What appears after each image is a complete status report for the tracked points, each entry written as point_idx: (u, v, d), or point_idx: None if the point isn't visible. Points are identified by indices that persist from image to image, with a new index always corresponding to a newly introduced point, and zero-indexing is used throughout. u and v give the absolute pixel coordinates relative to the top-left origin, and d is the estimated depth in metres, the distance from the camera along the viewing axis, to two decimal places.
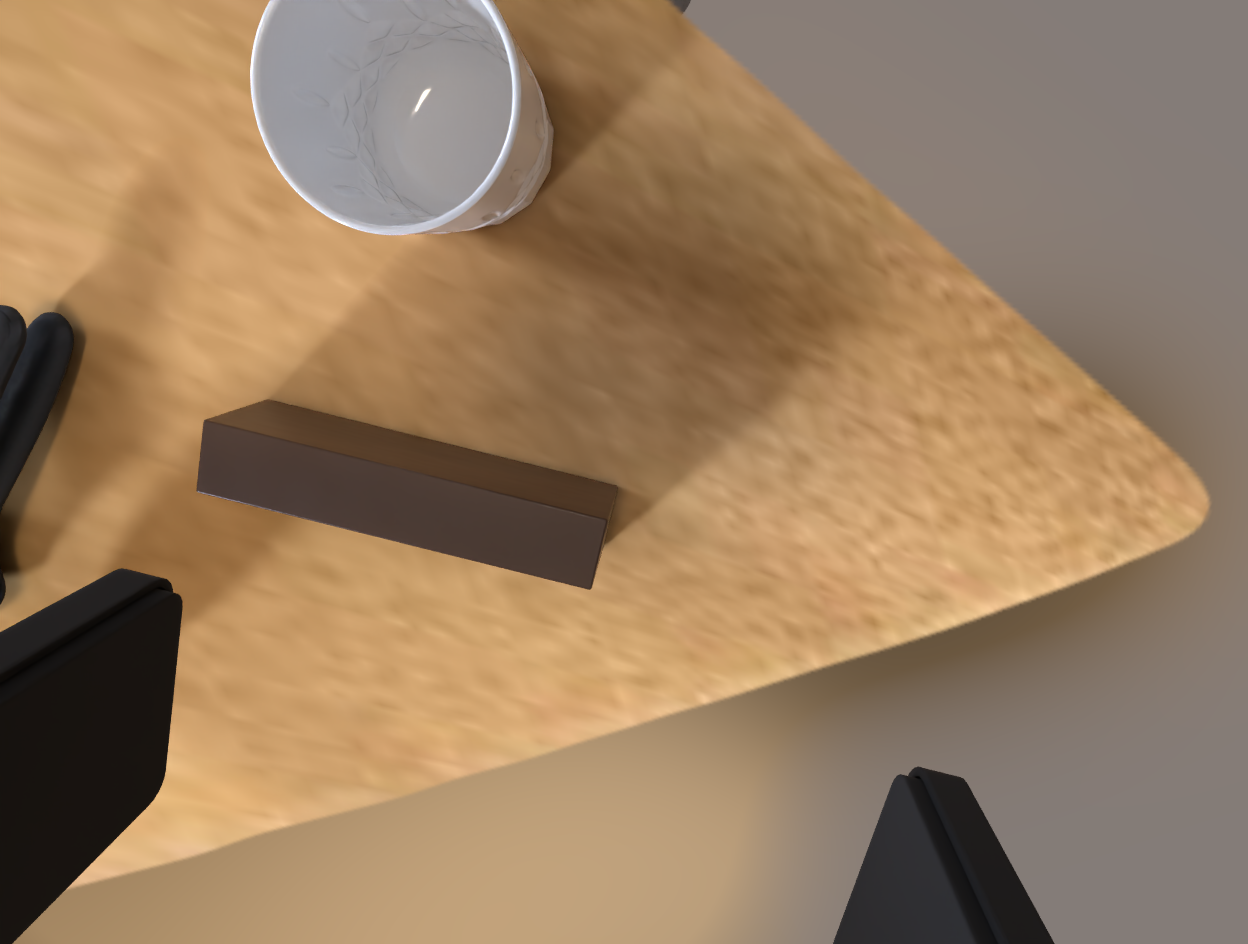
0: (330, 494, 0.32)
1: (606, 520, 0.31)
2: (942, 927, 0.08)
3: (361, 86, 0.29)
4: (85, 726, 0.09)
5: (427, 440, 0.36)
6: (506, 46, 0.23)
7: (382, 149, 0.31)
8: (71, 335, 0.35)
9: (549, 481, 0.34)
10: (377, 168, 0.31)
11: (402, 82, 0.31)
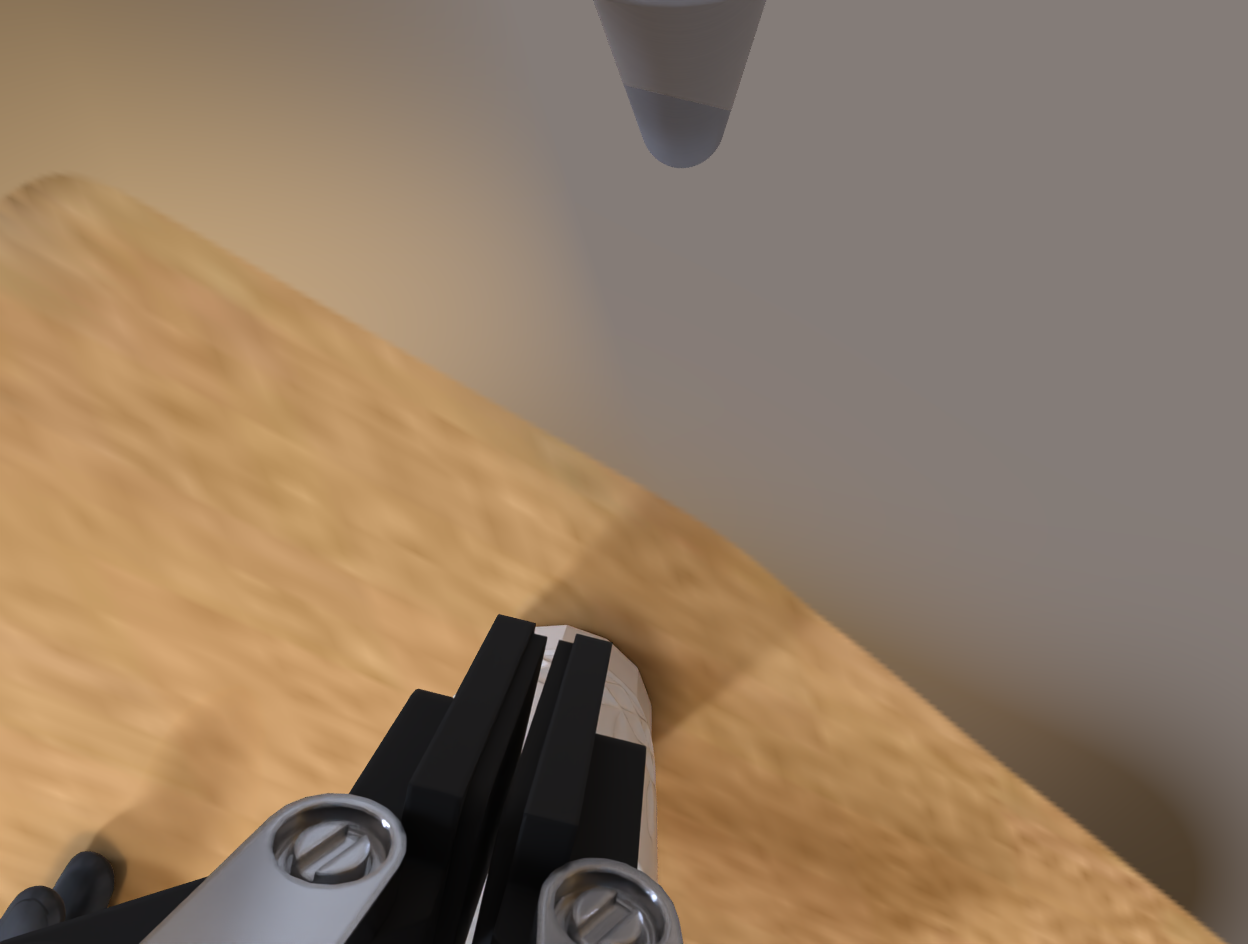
0: None
1: None
2: None
3: None
4: (511, 759, 0.10)
5: None
6: None
7: None
8: (112, 880, 0.32)
9: None
10: None
11: None
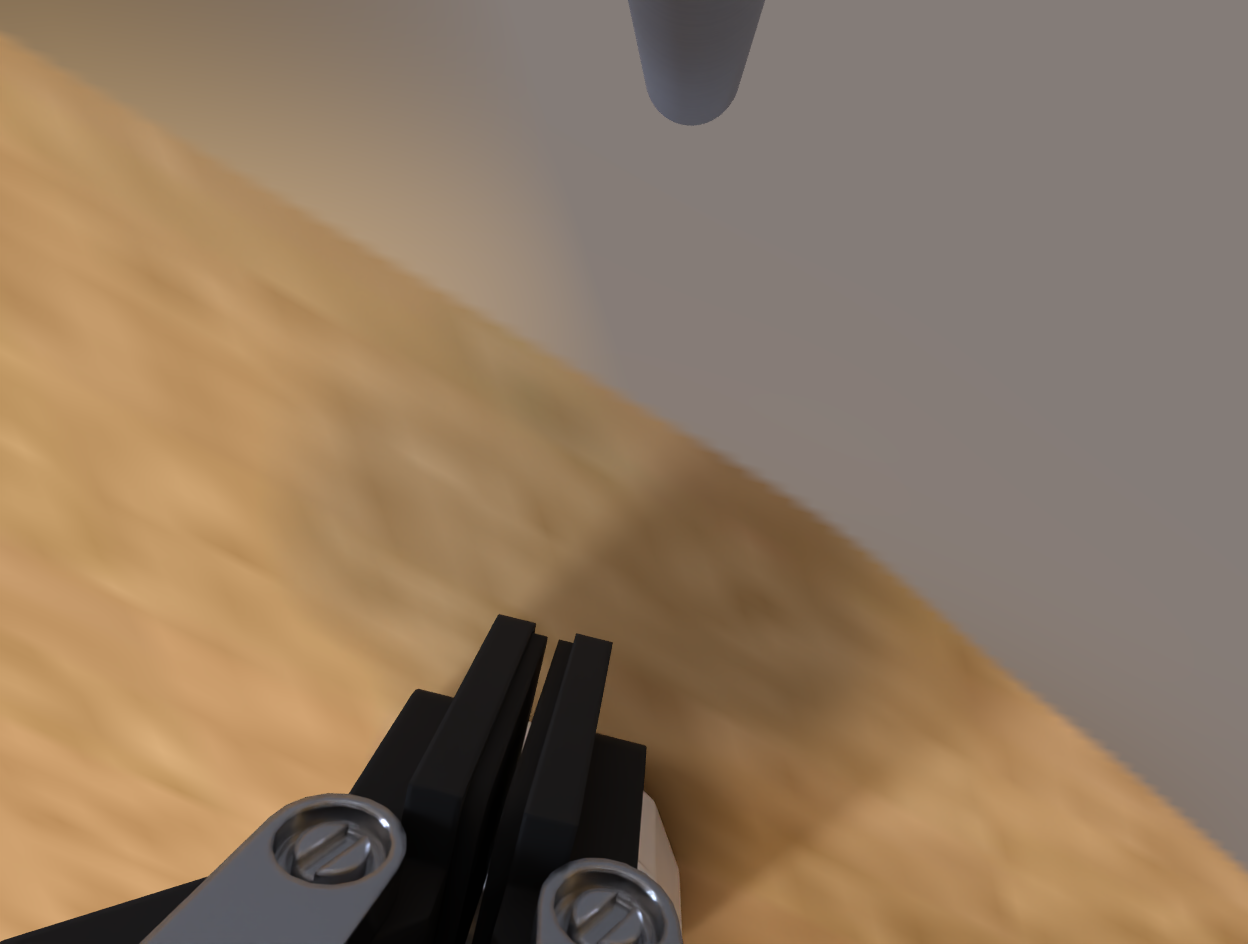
0: None
1: None
2: None
3: None
4: (511, 759, 0.10)
5: None
6: None
7: None
8: None
9: None
10: None
11: None
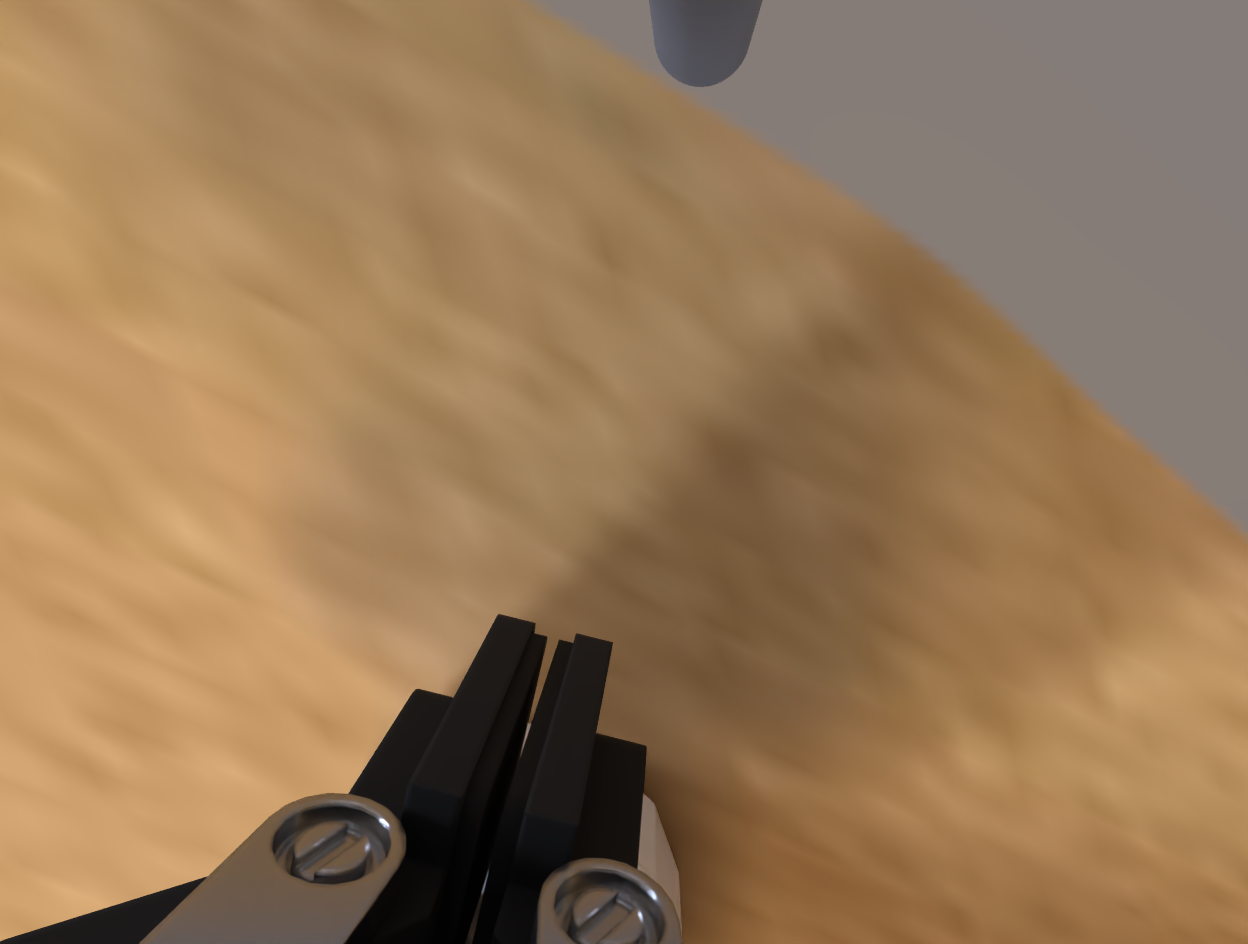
0: None
1: None
2: None
3: None
4: (511, 758, 0.10)
5: None
6: None
7: None
8: None
9: None
10: None
11: None
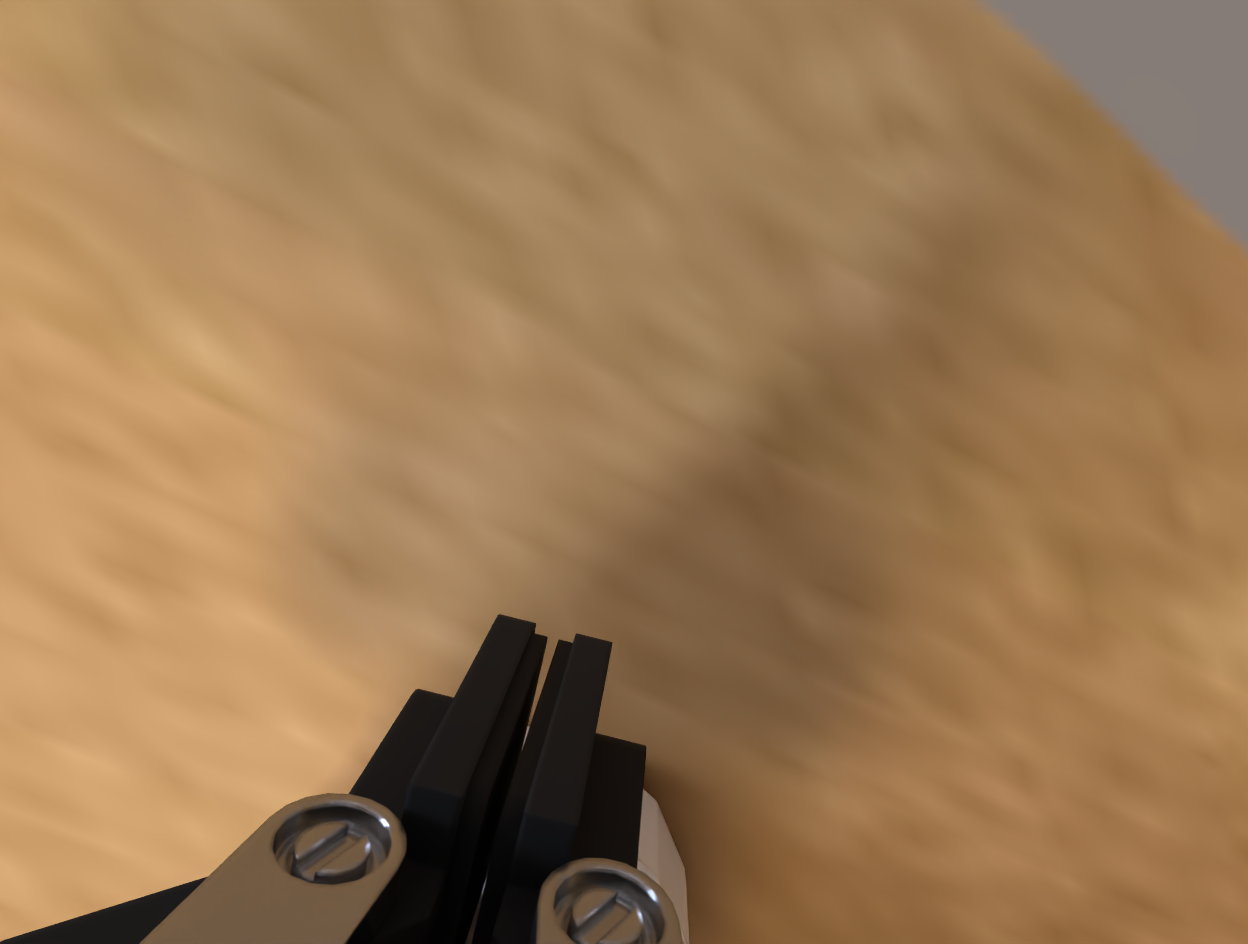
0: None
1: None
2: None
3: None
4: (511, 759, 0.10)
5: None
6: None
7: None
8: None
9: None
10: None
11: None
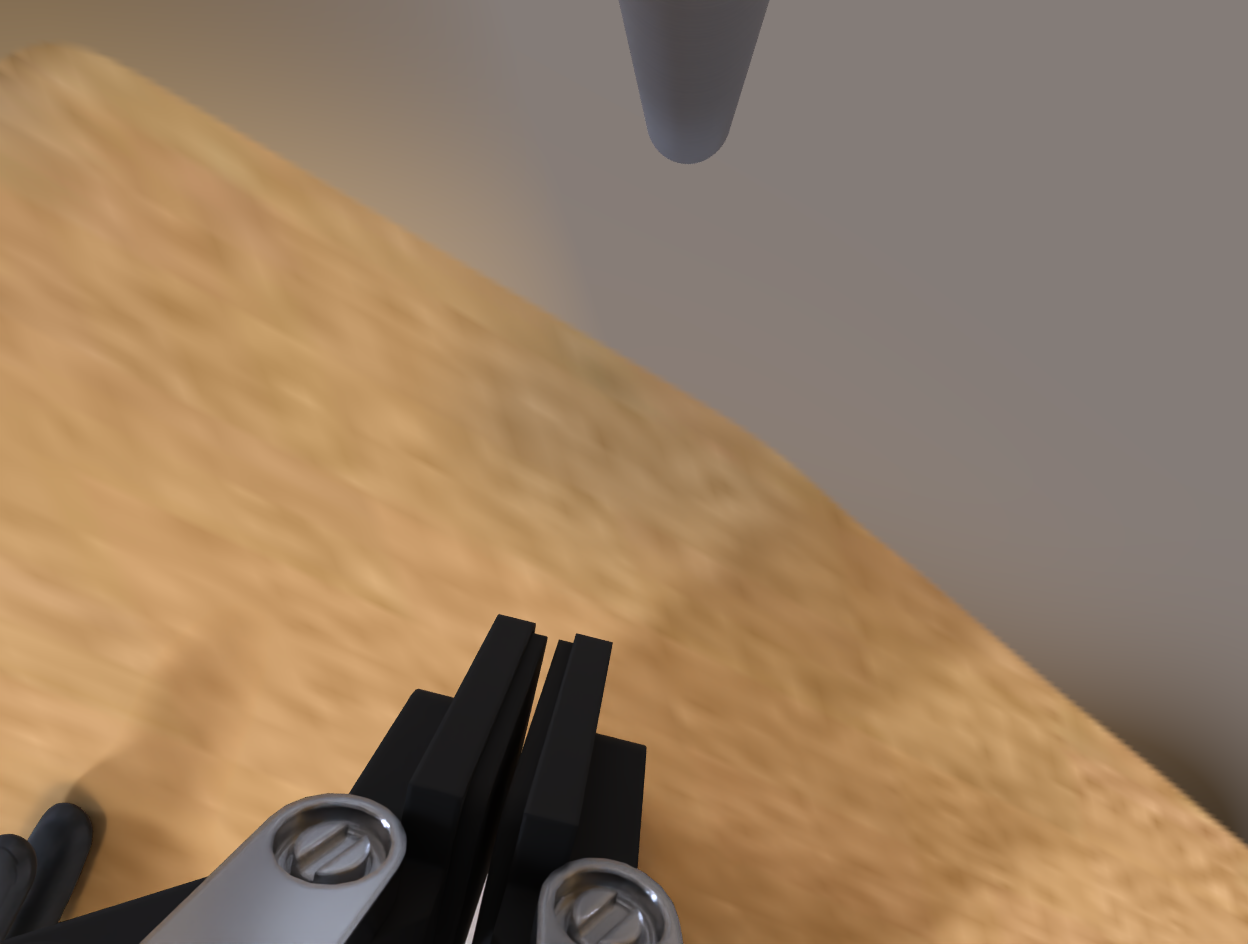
0: None
1: None
2: None
3: None
4: (512, 758, 0.10)
5: None
6: None
7: None
8: (90, 833, 0.29)
9: None
10: None
11: None
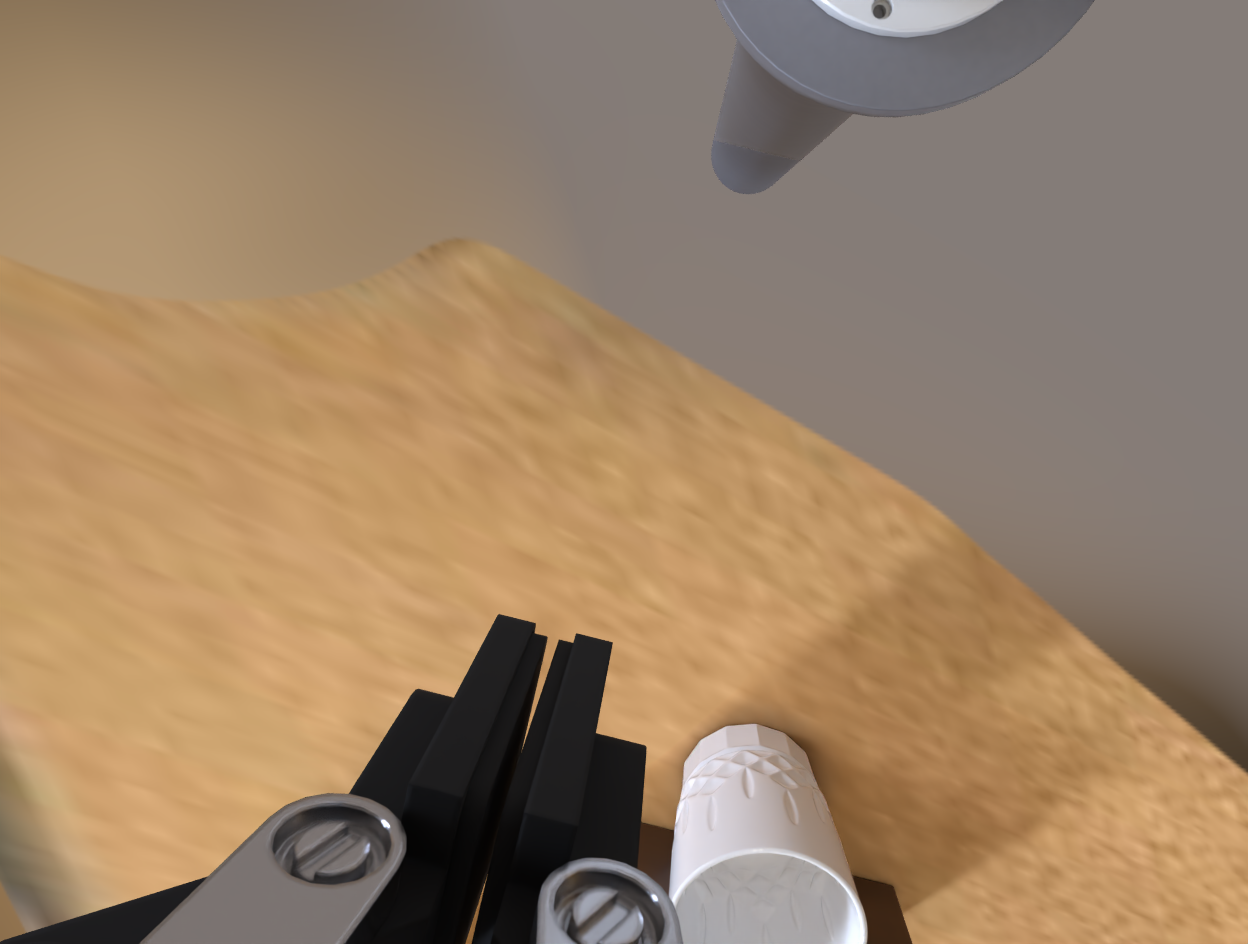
0: None
1: None
2: None
3: None
4: (512, 759, 0.10)
5: None
6: (859, 912, 0.32)
7: None
8: None
9: None
10: None
11: None
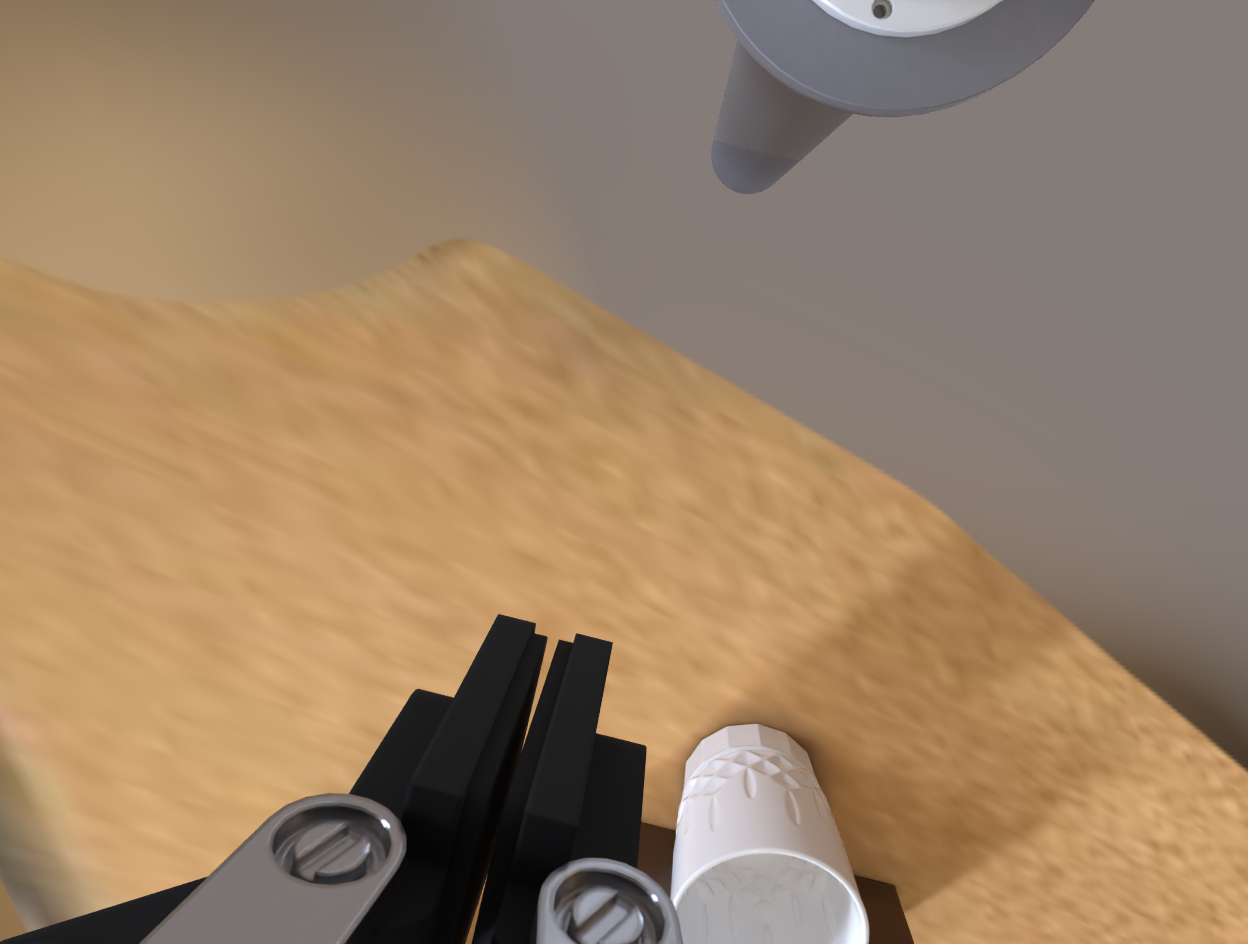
0: None
1: None
2: None
3: None
4: (512, 759, 0.10)
5: None
6: (860, 912, 0.32)
7: None
8: None
9: None
10: None
11: None
